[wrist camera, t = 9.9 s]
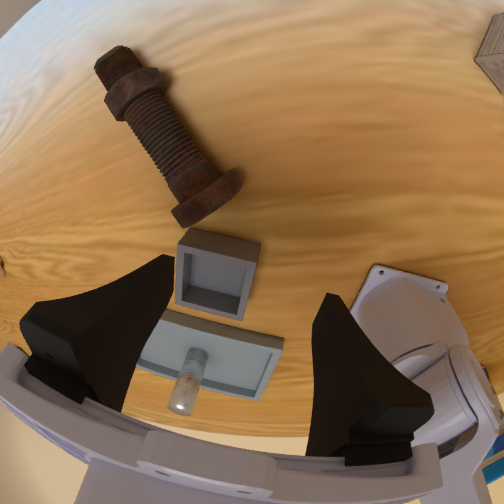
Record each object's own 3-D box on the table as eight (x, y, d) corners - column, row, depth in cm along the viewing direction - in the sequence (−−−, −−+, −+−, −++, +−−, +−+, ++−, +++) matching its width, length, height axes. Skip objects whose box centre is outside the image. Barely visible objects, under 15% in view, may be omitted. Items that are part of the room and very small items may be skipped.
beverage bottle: (445, 378, 30) (473, 491, 12) (489, 355, 27) (526, 460, 10) (442, 400, 33) (462, 496, 16) (481, 381, 30) (509, 472, 13)
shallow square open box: (260, 244, 23) (256, 262, 20) (247, 299, 26) (242, 321, 24) (190, 227, 23) (177, 243, 20) (185, 284, 26) (174, 303, 24)
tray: (283, 338, 28) (282, 350, 27) (260, 391, 34) (258, 401, 32) (129, 297, 28) (122, 306, 27) (138, 357, 34) (133, 366, 33)
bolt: (140, 56, 18) (231, 189, 22) (91, 88, 17) (181, 224, 22) (136, 21, 12) (251, 187, 17) (72, 59, 12) (185, 233, 16)
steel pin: (208, 349, 30) (190, 407, 23) (208, 362, 31) (192, 418, 24) (187, 345, 30) (165, 401, 23) (188, 358, 31) (169, 412, 24)
